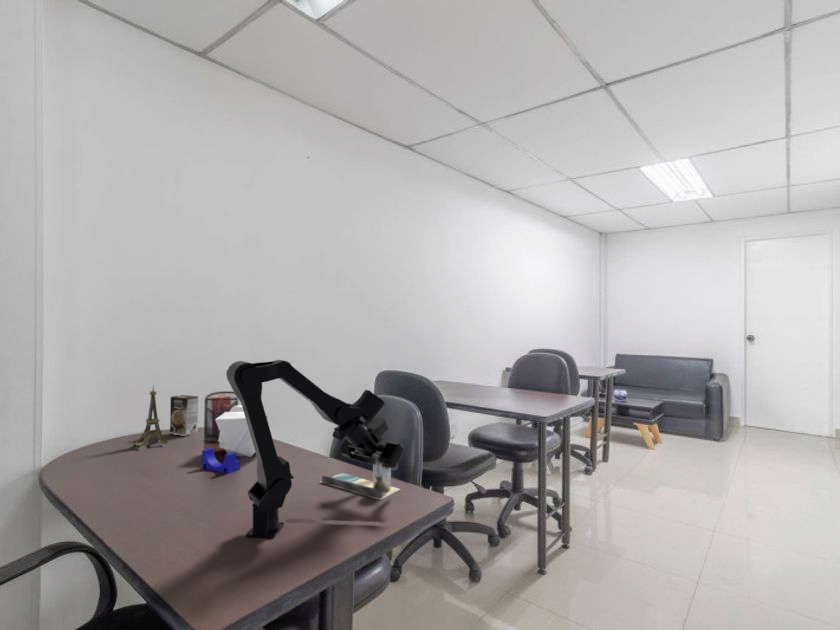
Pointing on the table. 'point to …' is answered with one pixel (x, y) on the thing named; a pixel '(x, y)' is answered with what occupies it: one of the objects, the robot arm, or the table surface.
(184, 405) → the coffee box
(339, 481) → the rail board
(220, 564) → the table surface
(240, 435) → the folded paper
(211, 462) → the cable clip
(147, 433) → the eiffel tower
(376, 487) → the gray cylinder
